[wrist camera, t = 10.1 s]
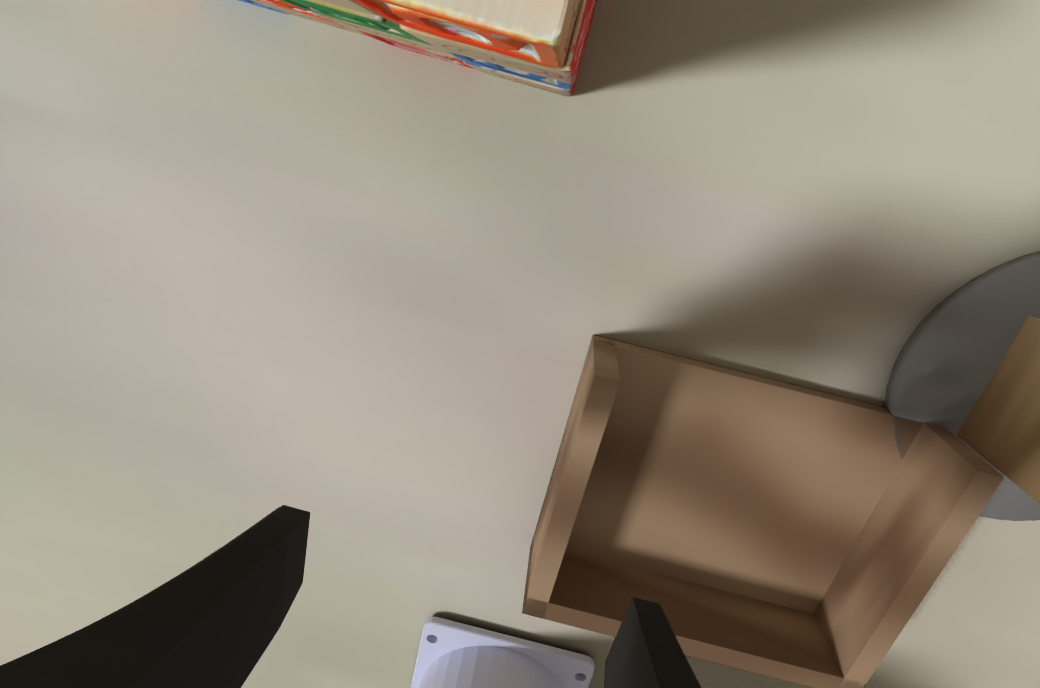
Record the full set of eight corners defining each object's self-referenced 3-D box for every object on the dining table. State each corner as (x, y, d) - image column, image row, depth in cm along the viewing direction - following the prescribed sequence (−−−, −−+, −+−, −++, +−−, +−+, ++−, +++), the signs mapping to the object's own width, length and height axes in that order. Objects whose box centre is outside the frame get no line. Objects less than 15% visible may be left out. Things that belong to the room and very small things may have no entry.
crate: (818, 620, 24) (856, 698, 21) (530, 547, 24) (522, 612, 21) (936, 420, 20) (1004, 477, 17) (593, 334, 20) (594, 375, 17)
